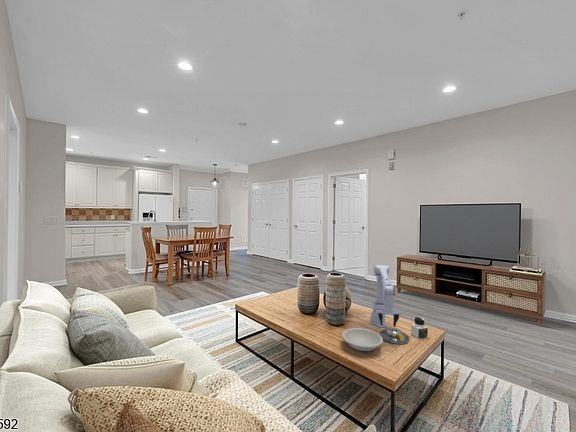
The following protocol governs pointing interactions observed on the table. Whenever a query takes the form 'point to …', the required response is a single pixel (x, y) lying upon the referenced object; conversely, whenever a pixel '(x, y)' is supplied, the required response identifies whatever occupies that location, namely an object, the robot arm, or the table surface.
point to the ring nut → (394, 333)
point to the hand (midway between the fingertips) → (387, 325)
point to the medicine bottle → (419, 328)
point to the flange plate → (394, 340)
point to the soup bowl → (362, 339)
